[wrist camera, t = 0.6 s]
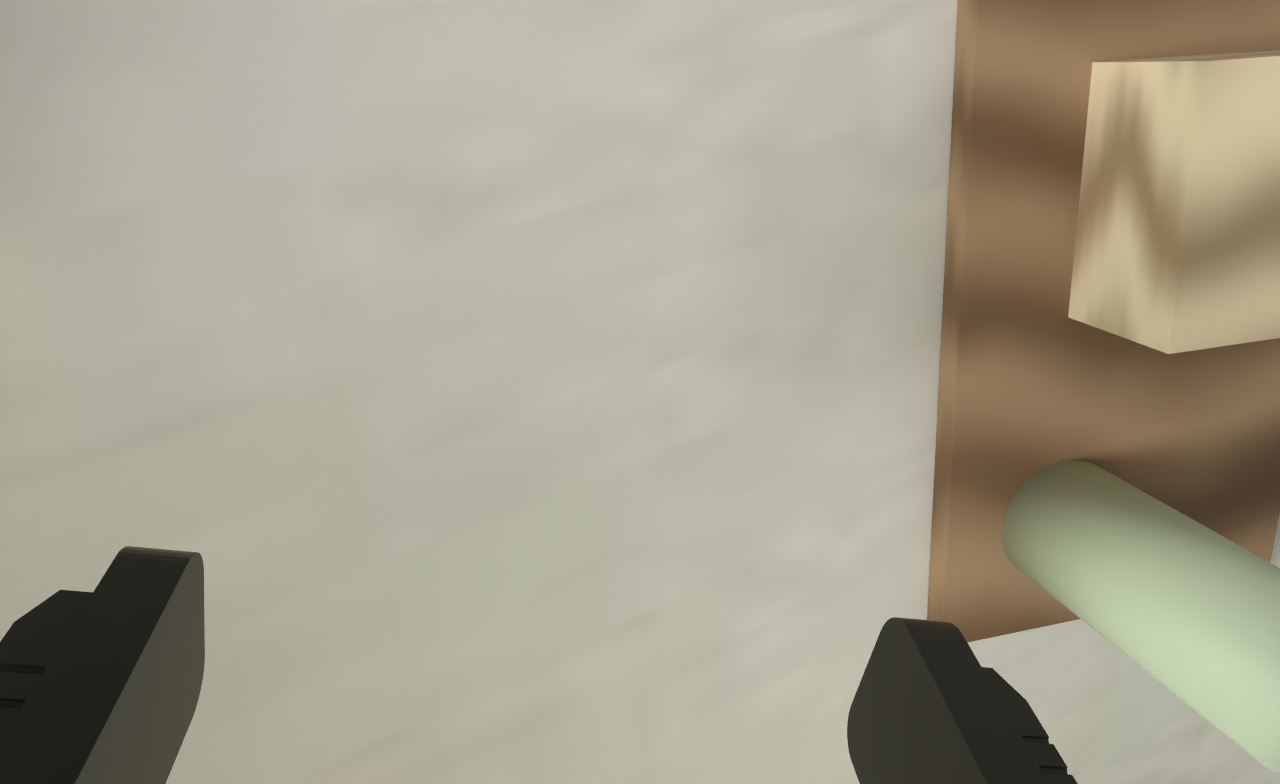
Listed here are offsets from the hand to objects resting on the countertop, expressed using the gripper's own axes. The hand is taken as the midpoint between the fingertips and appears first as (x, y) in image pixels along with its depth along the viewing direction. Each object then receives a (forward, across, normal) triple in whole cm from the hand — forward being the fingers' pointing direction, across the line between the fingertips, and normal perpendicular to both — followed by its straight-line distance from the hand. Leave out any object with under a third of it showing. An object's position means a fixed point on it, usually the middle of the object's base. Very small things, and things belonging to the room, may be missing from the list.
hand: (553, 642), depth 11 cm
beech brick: (+24, -24, -3) cm, 33 cm away
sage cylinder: (+21, -23, +10) cm, 33 cm away
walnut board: (+24, -24, +2) cm, 34 cm away
